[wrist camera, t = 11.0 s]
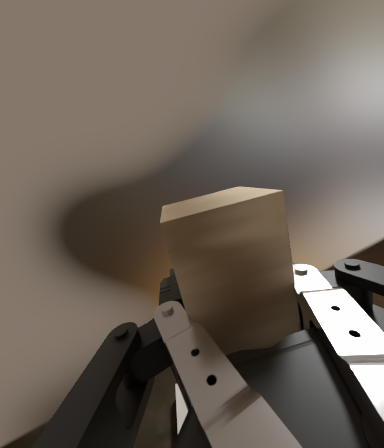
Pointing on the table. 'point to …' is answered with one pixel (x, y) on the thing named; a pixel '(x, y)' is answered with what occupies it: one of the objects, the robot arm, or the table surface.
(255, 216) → the maple block
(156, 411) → the table surface
